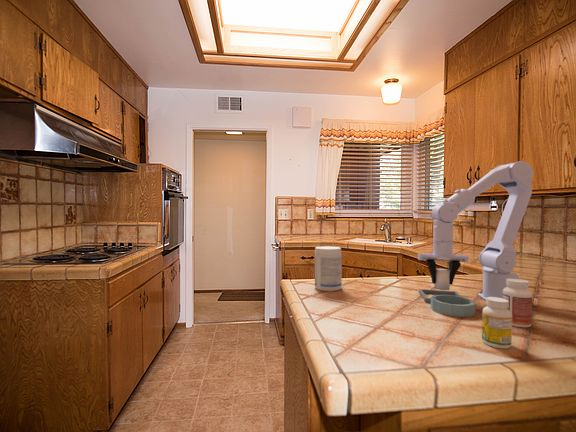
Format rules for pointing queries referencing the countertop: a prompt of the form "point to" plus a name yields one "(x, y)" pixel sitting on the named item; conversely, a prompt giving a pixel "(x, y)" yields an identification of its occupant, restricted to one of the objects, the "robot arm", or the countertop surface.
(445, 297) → the bowl
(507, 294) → the pill bottle
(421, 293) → the empty gray rectangular frame
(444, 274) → the pestle
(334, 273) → the supplement tub
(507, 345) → the supplement bottle
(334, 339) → the countertop surface
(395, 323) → the countertop surface
